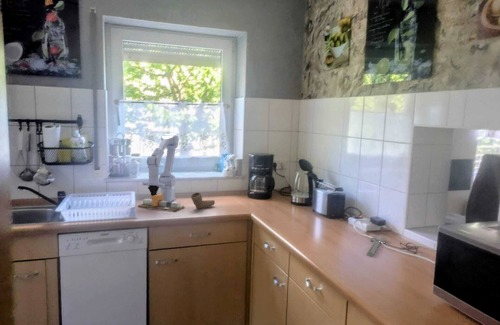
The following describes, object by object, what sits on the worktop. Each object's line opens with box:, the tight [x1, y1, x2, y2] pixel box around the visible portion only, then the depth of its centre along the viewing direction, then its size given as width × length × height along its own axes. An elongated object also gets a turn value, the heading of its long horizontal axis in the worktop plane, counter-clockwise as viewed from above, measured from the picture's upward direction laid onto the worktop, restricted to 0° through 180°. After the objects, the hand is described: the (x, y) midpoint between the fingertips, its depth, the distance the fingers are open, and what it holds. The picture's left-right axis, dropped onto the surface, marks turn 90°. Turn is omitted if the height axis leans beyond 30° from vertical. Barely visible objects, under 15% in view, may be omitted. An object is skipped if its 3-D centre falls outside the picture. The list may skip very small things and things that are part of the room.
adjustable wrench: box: [366, 236, 387, 258], centre depth 153 cm, size 25×6×2 cm, turn 146°
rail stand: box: [137, 198, 185, 213], centre depth 210 cm, size 26×10×4 cm, turn 71°
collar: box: [151, 193, 163, 206], centre depth 210 cm, size 3×8×6 cm, turn 161°
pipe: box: [190, 192, 216, 210], centre depth 211 cm, size 6×17×10 cm, turn 133°
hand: (153, 197), depth 211 cm, fingers closed
